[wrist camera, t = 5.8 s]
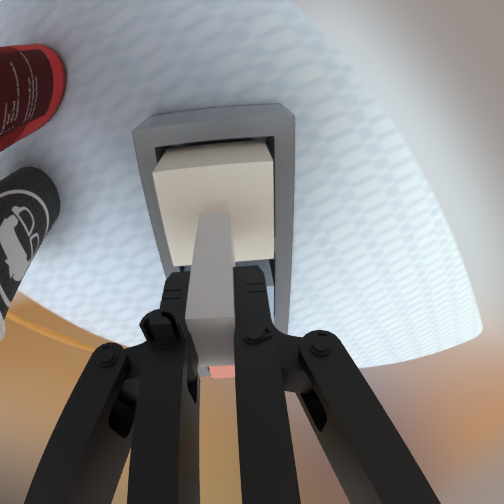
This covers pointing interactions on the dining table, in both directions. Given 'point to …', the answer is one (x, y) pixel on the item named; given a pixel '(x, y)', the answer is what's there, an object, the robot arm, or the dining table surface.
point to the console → (223, 131)
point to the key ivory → (217, 196)
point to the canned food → (28, 90)
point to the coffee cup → (22, 227)
